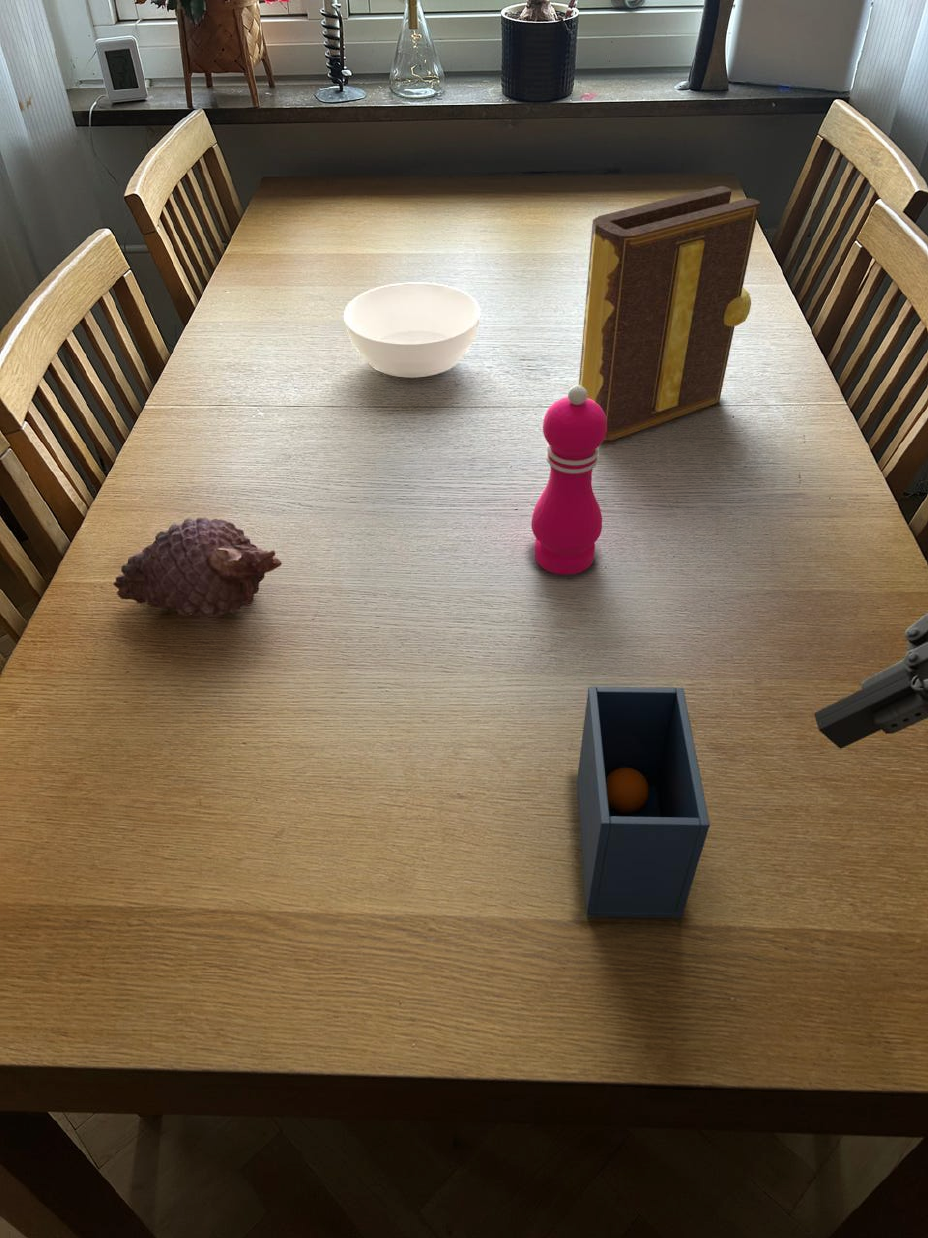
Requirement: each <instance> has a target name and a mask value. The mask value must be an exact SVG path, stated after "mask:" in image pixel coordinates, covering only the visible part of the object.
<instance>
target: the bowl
mask: <svg viewBox="0 0 928 1238" xmlns="http://www.w3.org/2000/svg"><path fill="white" fill-rule="evenodd" d="M480 320H481V307H480V305H479V304H478V302H477V300H476V299H475V298H474V297H473V296H471V295H470V294H468V293H467V292H466V291H463V290H461V289H458V288H456V287H452V286H449V285H445V284H438V283H431V282H404V283H403V282H402V283H401V282H400V283H394V284H387V285H383V286H379V287H376V288H373V289H369V290H368V291H365V292H363V293H361V294H359V295H358V296H356V297H355V298H353V299H352V300H351V301H350V302H349V303H348V304H347V306H346V307H345V309H344V313H343V321H344V325H345V328H346V332H347V334H348V338H349V341H350V343H351V345H353V347H354V348H355V349H356V350H357V352H358V354H359V356H360V357H361V358H362V359H363V360H364V361H365V362H366V363H367V364H368V365H370V367H372V368H373V369H374V370H376V371H378V372H381V374H385V375H388V376H393V377H397V378H398V377H399V378H424V377H430V376H436V375H438V374H441V373H445V372H446V371H448V370H450V369H452V368H453V367H455V366H456V365H458V364H459V363H460V361H461V360H462V359H463V358H464V357H465V356H466V354H467V353H468V352H469V350H470V347H471V345H472V344H473V343H474V341H475V340H476V337H477V334H478V331H479V326H480Z"/></svg>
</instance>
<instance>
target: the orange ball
mask: <svg viewBox="0 0 928 1238" xmlns="http://www.w3.org/2000/svg"><path fill="white" fill-rule="evenodd" d="M606 786H607V796H608V805H609V806H610V807H611V808H612V809H614V810H615V811H617V812H620V813H625V814H628V813H633V812H636V811H638V810H639V809H641V808H642V807H643V806H644V805H645V803H646V802H647V799H648V796H649V786H648V783H647V781H646V779H645V777H644V776H643V775H642V774H641V773H640V772H638V771H637V770H635V769H632V768H628V767H623V768H618V769H616V770H614V771H612V772H611V773H610V774H609V775H608V776H607V777H606Z"/></svg>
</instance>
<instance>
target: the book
mask: <svg viewBox="0 0 928 1238" xmlns="http://www.w3.org/2000/svg"><path fill="white" fill-rule="evenodd" d="M732 191H733V189H731V188H730V187H727V186H724V185H719V186H715V187H711V188H706V189H702V190H699V191H695V192H690V193H687V194H683V195H680V196H675V197H670V198H666V199H661V200H658V201H655V202H650V203H646V204H642V205H638V206H634V207H630V208H626V209H622V210H618V211H614V212H610V213H605V214H602V215H601V214H600V215H598V216H596V217H595V218H594V219H592V224H591V233H590V234H591V236H590V247H589V258H588V271H587V280H586V281H587V284H586V293H585V294H586V295H585V304H584V305H585V307H584V317H583V330H582V341H581V342H582V343H581V352H580V366H579V377H578V385H579V386H582V387H584V388H585V389H586V391H587V398H589V399H591V400H593V401H595V402H596V403H597V404H598V405H599V406H600V407H601V408H602V410H603V411H604V413H605V416H606V420H607V432H606V437H605V439H604V441H603V442H602V443H607V442H613V441H617V440H619V439H621V438H624V437H628V436H629V435H632V434H636V433H638V432H641V431H644V430H647V429H649V428H652V427H655V426H658V425H661V424H664V423H667V422H669V421H672V420H674V419H678V418H681V417H683V416H686V415H688V414H692V413H695V412H697V411H700V410H703V409H705V408H708V407H712V406H714V405H717V404H719V403H720V399H721V396H722V391H723V386H724V381H725V375H726V370H727V365H728V360H729V356H730V350H731V346H732V341H733V337H734V333H735V327H737V326H739V325H741V324H743V323H744V322H746V320H747V319H748V316H749V314H750V312H751V307H752V297H751V294H750V293H749V292H748V291H747V290H746V289H745V287H744V282H745V277H746V273H747V268H748V263H749V257H750V253H751V249H752V245H753V244H752V243H753V239H754V233H755V229H756V225H757V218H758V216H759V215H758V214H759V209H760V204H761V203H760V201H759V200H757V199H754V198H751V197H747V198H744V199H739V200H735V201H732V202H730V201H731V197H732Z"/></svg>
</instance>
